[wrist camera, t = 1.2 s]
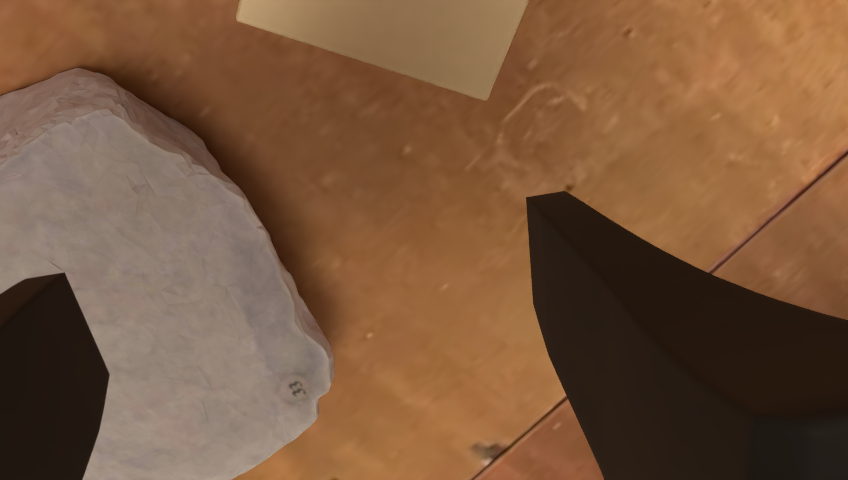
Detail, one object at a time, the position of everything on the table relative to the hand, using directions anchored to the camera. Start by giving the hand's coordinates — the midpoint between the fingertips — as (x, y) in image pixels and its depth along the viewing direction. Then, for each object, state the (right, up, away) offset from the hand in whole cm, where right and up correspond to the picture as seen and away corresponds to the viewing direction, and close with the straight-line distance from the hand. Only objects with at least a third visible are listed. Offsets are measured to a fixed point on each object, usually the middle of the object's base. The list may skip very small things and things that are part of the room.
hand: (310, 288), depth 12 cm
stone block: (-7, 0, +10) cm, 12 cm away
